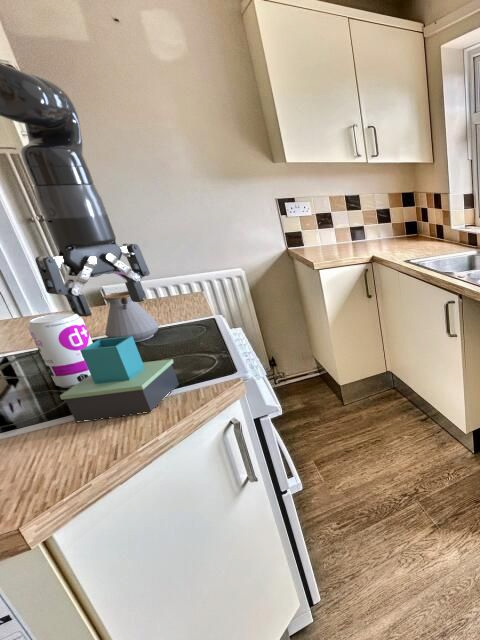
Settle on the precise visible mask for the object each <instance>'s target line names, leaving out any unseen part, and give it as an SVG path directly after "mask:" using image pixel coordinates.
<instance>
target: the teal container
mask: <svg viewBox="0 0 480 640" xmlns="http://www.w3.org/2000/svg"><path fill="white" fill-rule="evenodd" d="M80 352H81V354H82V356H83V358H84V361H85V363H86V365H87V367H88V370H89V372H90V374H91V376H92V379H93V381H94V383H95V384H101V383H109V382H117V381H126V380H130V379H132V378H133V377H134V376H135V375H137V374H138V373H139V372H140V371H142V370H143V369H144V368H145V367H144V365H143V362H144V361H143V360H142V357H141V354H140V352H139V350H138V347H137V345H136V342H134V339H133V336H130V337H120V338H102V339H101V338H100V339H97V340H94V342H93V343H92V344H90V345H88V346H87V347H85V348H83V349H81V350H80Z"/></svg>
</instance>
